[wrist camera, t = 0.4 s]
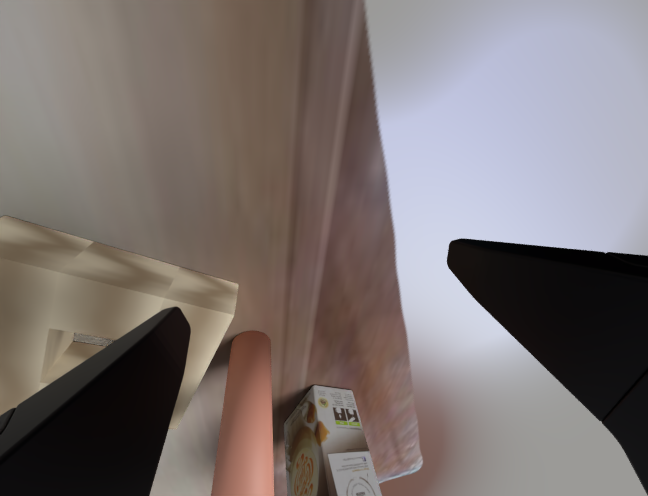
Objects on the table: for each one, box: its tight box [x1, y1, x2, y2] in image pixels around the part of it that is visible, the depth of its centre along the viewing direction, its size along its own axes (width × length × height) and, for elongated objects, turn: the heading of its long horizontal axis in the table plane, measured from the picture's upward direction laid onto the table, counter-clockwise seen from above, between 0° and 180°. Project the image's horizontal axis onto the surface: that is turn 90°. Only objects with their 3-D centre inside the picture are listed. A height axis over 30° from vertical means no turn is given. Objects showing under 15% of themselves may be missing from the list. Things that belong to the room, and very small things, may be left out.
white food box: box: [284, 385, 382, 496], centre depth 29 cm, size 9×6×16 cm
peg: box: [211, 331, 274, 496], centre depth 22 cm, size 4×4×14 cm
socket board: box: [0, 216, 239, 430], centre depth 22 cm, size 16×16×4 cm
